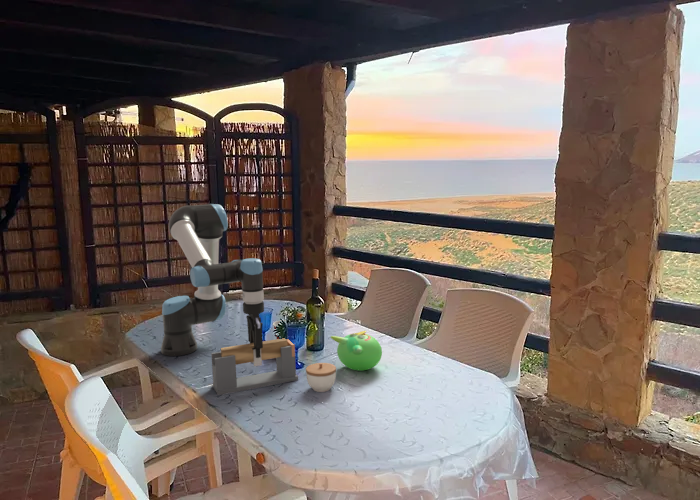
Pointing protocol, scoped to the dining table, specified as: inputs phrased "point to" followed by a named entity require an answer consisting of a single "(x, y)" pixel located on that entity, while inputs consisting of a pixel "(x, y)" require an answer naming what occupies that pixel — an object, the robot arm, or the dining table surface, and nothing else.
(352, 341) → the toy bird
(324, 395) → the dining table surface
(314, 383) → the lidded jar
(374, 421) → the dining table surface
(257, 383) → the stand
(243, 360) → the slat
